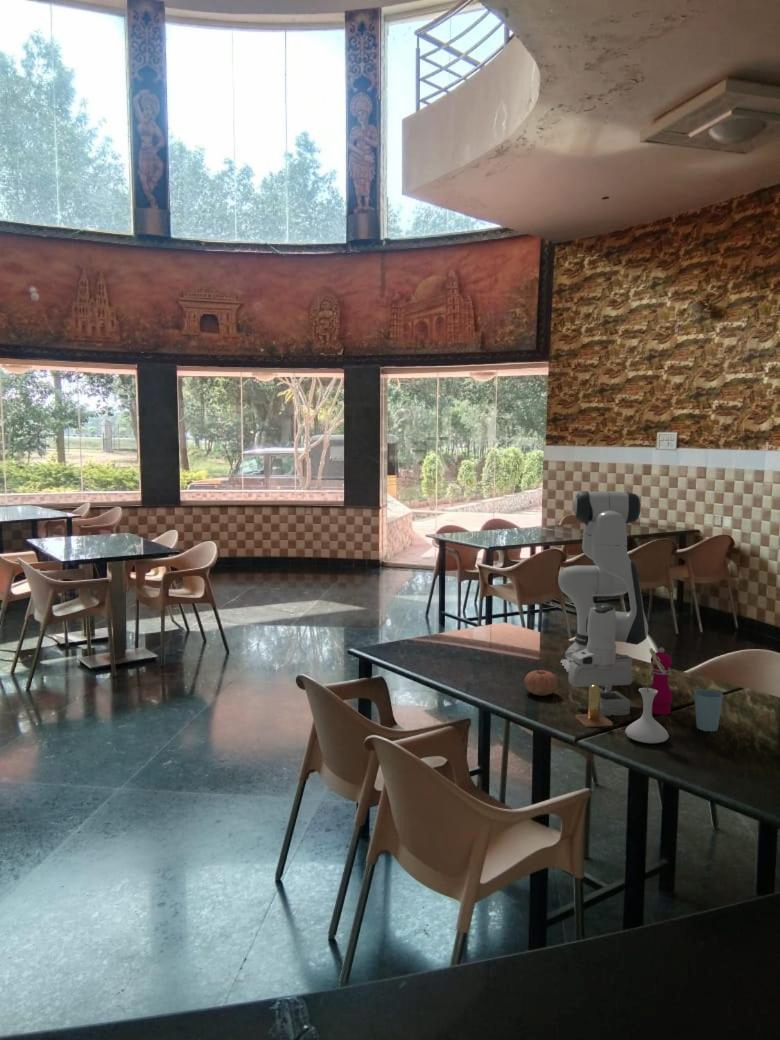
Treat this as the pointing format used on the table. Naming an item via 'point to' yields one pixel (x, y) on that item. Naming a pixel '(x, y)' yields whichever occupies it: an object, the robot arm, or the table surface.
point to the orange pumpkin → (541, 682)
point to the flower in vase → (648, 714)
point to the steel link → (613, 703)
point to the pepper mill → (661, 684)
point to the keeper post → (594, 710)
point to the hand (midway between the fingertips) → (600, 699)
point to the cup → (707, 709)
